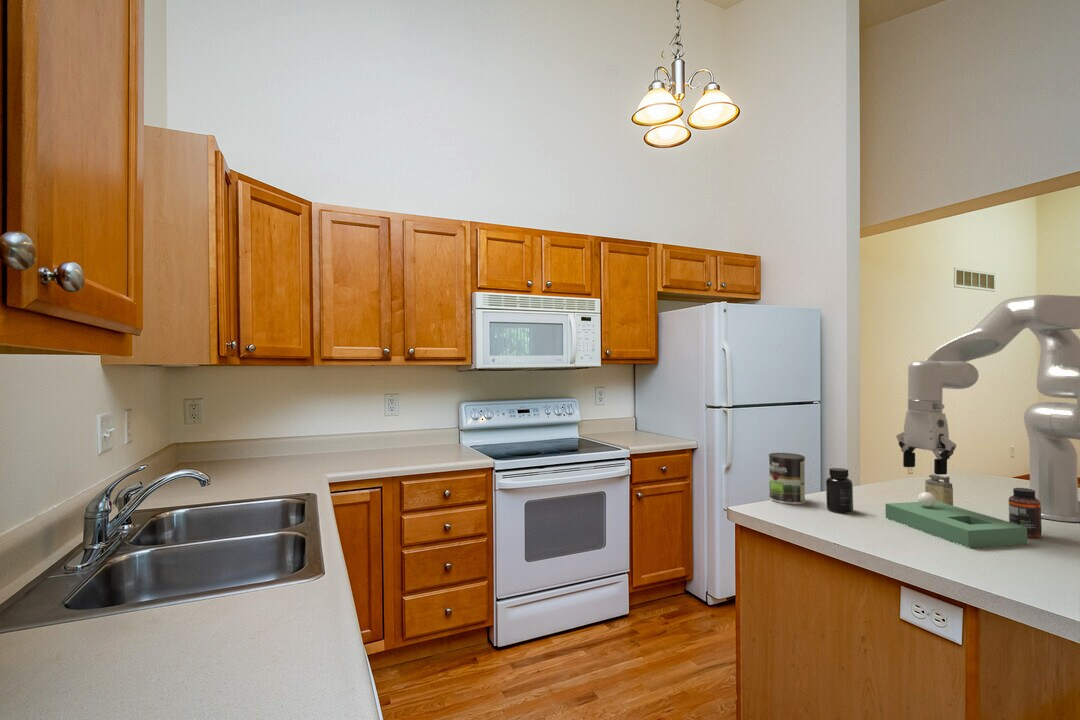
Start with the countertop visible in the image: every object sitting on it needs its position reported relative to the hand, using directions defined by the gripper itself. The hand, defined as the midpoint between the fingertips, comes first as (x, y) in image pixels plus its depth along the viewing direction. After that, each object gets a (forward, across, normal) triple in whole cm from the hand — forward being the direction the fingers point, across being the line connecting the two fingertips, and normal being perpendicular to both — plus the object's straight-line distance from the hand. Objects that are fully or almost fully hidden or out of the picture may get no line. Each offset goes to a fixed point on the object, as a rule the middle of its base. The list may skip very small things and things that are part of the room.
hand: (924, 470), depth 141 cm
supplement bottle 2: (+14, -13, -16) cm, 25 cm away
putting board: (+14, -7, -1) cm, 16 cm away
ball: (+8, 0, -1) cm, 8 cm away
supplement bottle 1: (+14, +14, +14) cm, 25 cm away
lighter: (+14, +10, -15) cm, 23 cm away
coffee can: (+15, +27, +22) cm, 38 cm away
